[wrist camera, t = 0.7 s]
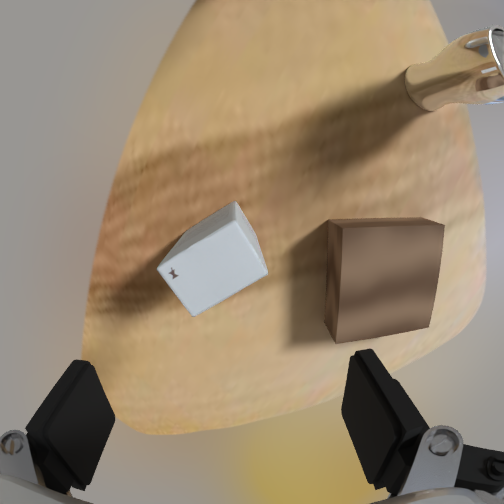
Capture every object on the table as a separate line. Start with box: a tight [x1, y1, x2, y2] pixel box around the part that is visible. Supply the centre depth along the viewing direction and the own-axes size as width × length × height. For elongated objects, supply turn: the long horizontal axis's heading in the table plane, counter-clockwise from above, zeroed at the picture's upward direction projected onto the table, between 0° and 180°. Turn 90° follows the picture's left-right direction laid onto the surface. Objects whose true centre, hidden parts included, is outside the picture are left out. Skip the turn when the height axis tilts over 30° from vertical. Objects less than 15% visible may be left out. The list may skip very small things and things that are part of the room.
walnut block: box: [324, 218, 445, 344], centre depth 29 cm, size 12×12×5 cm
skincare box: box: [157, 201, 268, 317], centre depth 24 cm, size 6×4×12 cm
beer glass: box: [405, 25, 504, 111], centre depth 18 cm, size 7×7×15 cm
